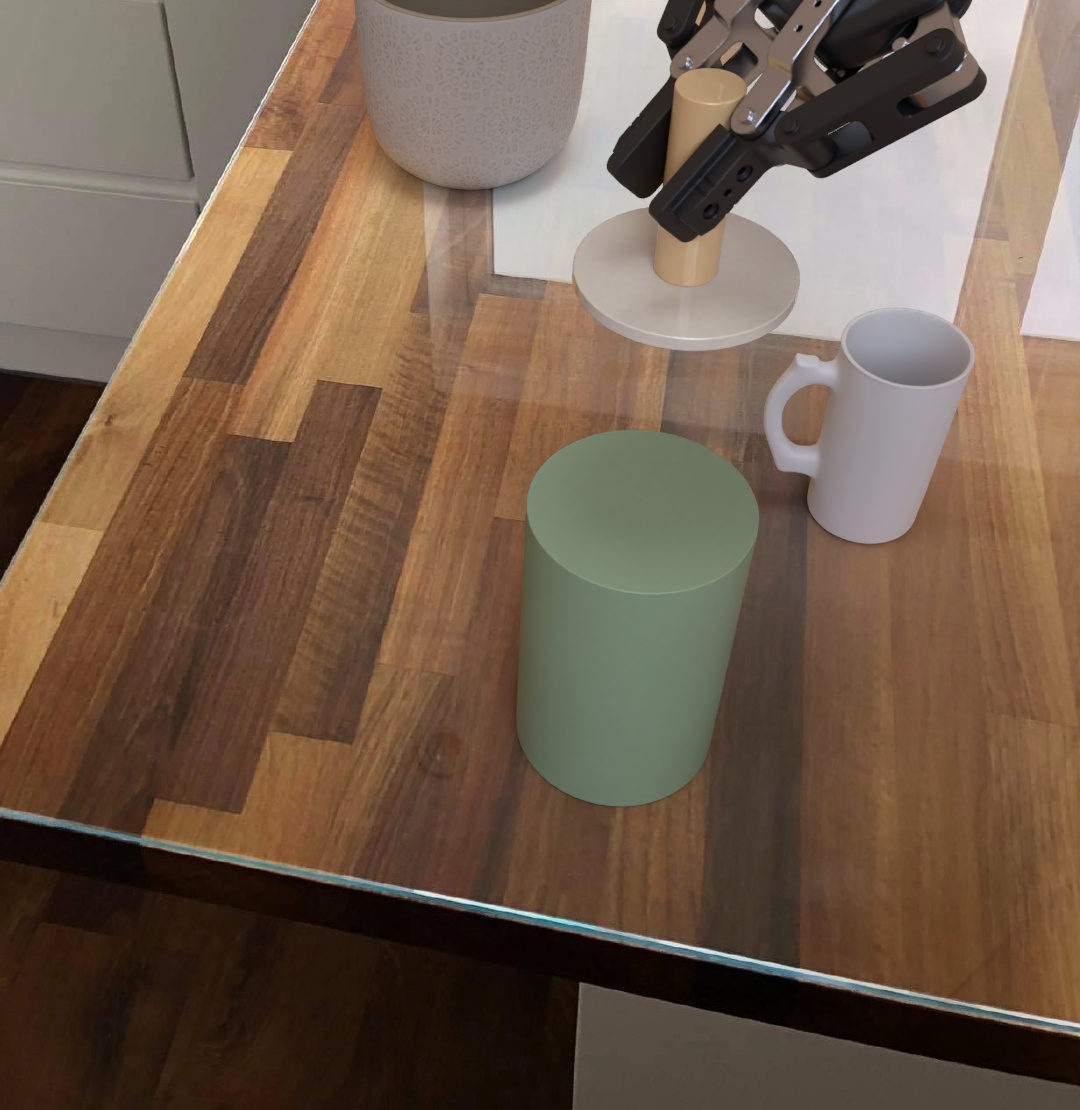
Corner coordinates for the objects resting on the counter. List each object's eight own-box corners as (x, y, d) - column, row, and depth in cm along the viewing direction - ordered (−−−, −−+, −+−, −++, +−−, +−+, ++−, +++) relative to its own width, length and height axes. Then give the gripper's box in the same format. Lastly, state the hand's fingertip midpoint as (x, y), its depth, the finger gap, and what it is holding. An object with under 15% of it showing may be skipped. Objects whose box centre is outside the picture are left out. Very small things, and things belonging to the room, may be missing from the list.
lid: (844, 287, 52) (893, 89, 46) (688, 383, 49) (719, 183, 43) (679, 192, 57) (704, 1, 51) (525, 275, 53) (533, 80, 47)
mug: (913, 471, 84) (966, 311, 75) (926, 553, 80) (983, 392, 71) (743, 459, 85) (775, 300, 76) (746, 539, 81) (781, 379, 72)
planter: (551, 88, 116) (561, -99, 105) (606, 202, 104) (623, 5, 93) (349, 112, 114) (336, -75, 103) (381, 230, 103) (371, 33, 92)
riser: (751, 733, 72) (808, 515, 60) (611, 843, 67) (643, 632, 56) (613, 619, 77) (640, 399, 65) (476, 714, 73) (478, 497, 61)
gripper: (841, -375, 45) (492, 65, 51) (1156, -241, 36) (690, 271, 42) (936, -224, 50) (609, 158, 56) (1232, -75, 41) (807, 359, 47)
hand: (646, 204), depth 49 cm, fingers closed on lid, 2 cm apart
